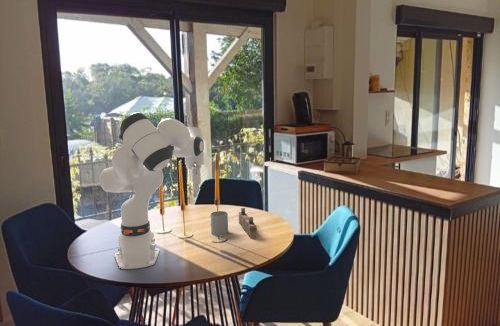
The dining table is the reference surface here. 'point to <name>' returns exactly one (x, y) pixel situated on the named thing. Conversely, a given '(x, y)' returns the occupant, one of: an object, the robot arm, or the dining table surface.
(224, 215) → the cup
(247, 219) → the stop fence
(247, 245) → the dining table surface
